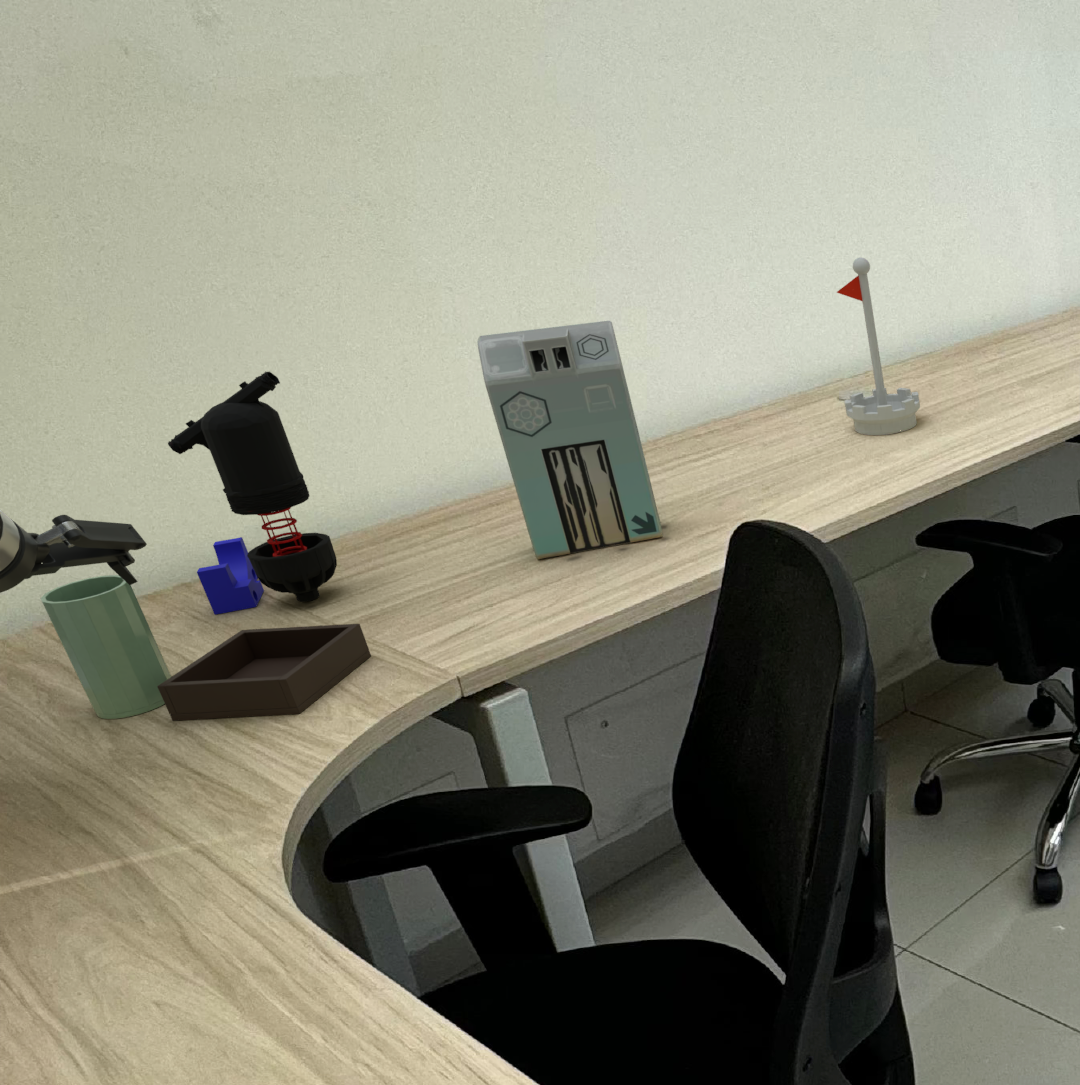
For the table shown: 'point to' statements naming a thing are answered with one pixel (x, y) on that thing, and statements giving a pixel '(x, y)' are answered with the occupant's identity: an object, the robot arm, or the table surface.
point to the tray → (265, 672)
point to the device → (570, 437)
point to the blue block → (231, 578)
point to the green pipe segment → (108, 645)
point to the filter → (263, 485)
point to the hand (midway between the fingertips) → (51, 608)
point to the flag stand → (877, 375)
